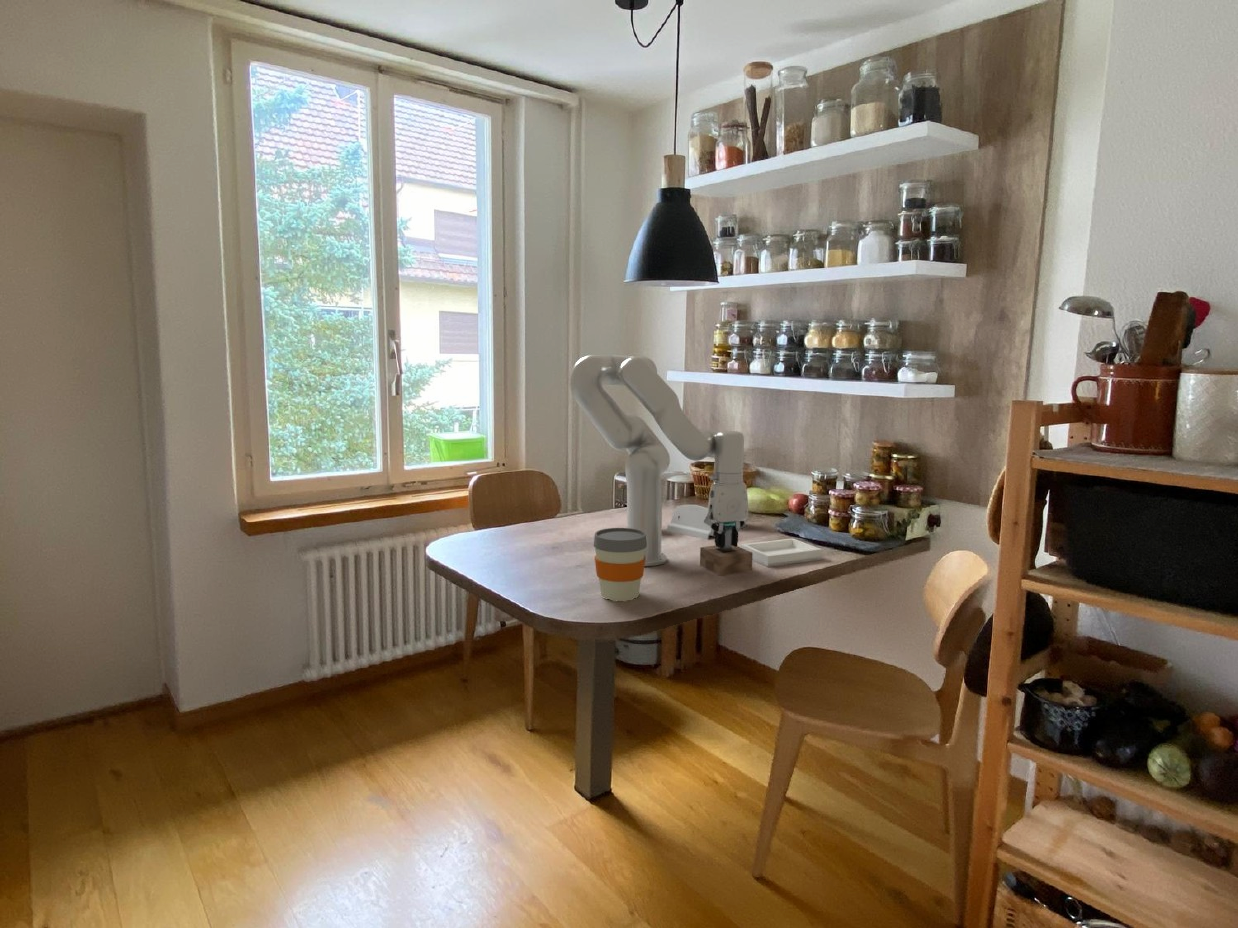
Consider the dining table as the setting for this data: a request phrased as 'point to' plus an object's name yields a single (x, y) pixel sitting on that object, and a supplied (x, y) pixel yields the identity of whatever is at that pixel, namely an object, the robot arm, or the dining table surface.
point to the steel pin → (727, 537)
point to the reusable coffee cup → (620, 562)
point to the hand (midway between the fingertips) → (726, 545)
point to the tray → (782, 552)
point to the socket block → (726, 560)
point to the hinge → (691, 521)
